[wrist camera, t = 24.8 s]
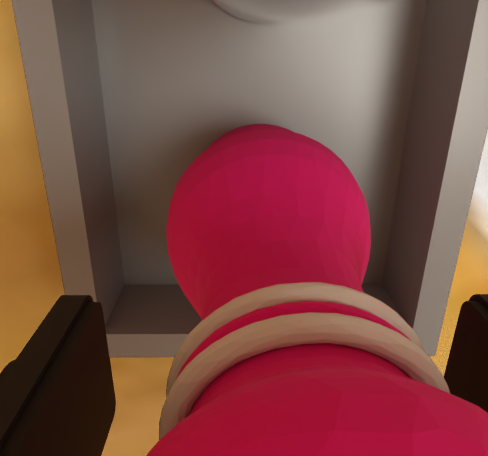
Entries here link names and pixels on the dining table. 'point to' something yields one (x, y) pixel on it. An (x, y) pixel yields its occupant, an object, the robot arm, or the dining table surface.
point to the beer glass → (294, 9)
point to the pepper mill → (293, 317)
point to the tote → (247, 113)
